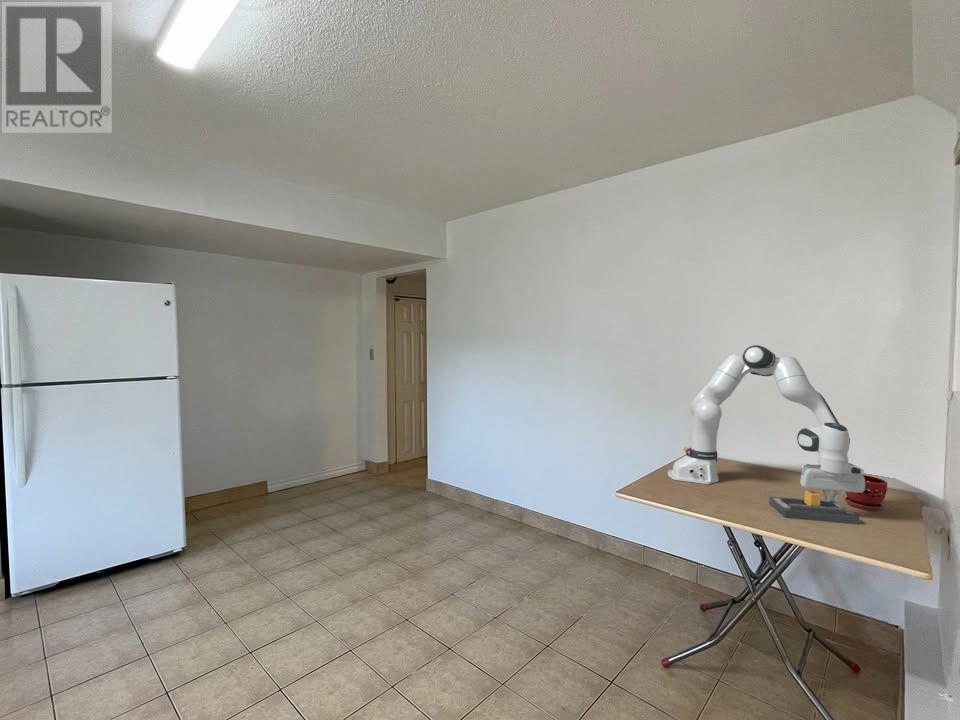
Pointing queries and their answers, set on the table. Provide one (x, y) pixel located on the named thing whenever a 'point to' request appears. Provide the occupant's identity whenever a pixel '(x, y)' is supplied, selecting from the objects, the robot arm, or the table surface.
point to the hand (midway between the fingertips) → (830, 501)
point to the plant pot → (868, 494)
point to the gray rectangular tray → (813, 510)
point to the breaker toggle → (812, 498)
